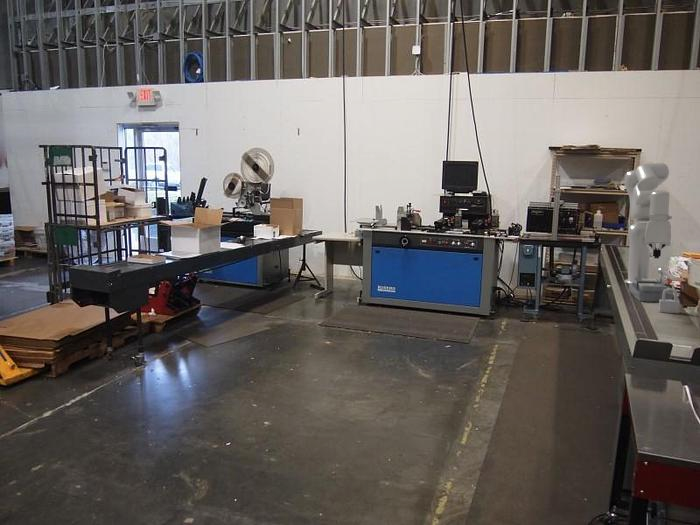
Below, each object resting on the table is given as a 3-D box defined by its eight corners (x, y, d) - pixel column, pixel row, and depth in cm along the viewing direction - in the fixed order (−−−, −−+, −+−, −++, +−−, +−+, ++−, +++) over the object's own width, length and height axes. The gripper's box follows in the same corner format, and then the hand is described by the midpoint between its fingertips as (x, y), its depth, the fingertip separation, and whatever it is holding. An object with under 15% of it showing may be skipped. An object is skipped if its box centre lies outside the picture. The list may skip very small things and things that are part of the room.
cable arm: (656, 288, 266) (657, 267, 265) (663, 288, 265) (665, 267, 264) (669, 299, 241) (670, 277, 240) (677, 299, 240) (678, 277, 239)
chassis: (628, 290, 267) (629, 276, 266) (658, 291, 263) (659, 277, 262) (639, 301, 243) (639, 286, 242) (671, 302, 238) (672, 287, 237)
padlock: (659, 312, 222) (660, 288, 221) (658, 310, 226) (659, 287, 224) (679, 313, 219) (680, 289, 217) (678, 311, 222) (679, 288, 221)
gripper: (678, 218, 245) (676, 257, 248) (641, 217, 253) (639, 256, 256) (677, 219, 239) (674, 260, 241) (639, 218, 247) (637, 258, 250)
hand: (656, 257), depth 249 cm, fingers closed
